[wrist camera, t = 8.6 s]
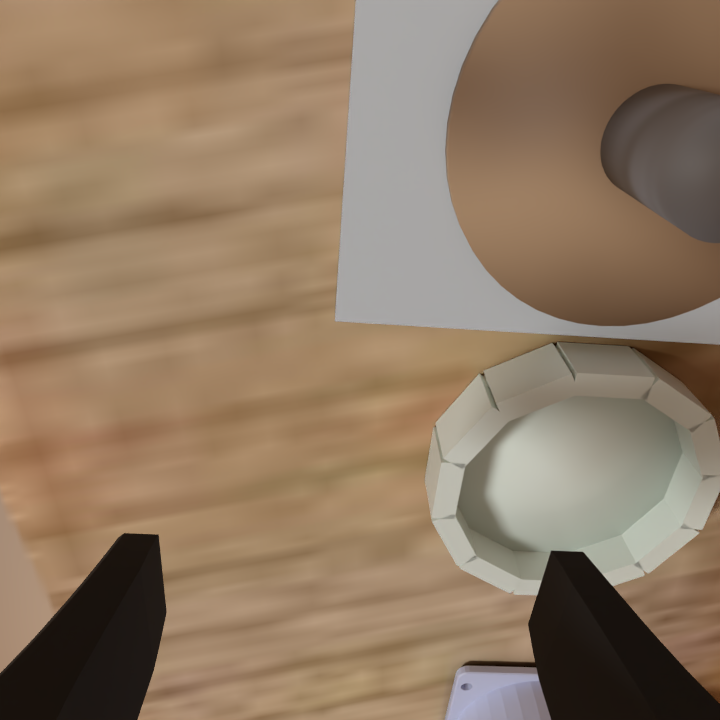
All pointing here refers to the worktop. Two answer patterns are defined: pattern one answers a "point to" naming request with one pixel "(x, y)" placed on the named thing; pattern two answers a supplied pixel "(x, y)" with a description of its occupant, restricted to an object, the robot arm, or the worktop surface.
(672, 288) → the walnut lid
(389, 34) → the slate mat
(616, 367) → the celadon dish
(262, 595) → the worktop surface
